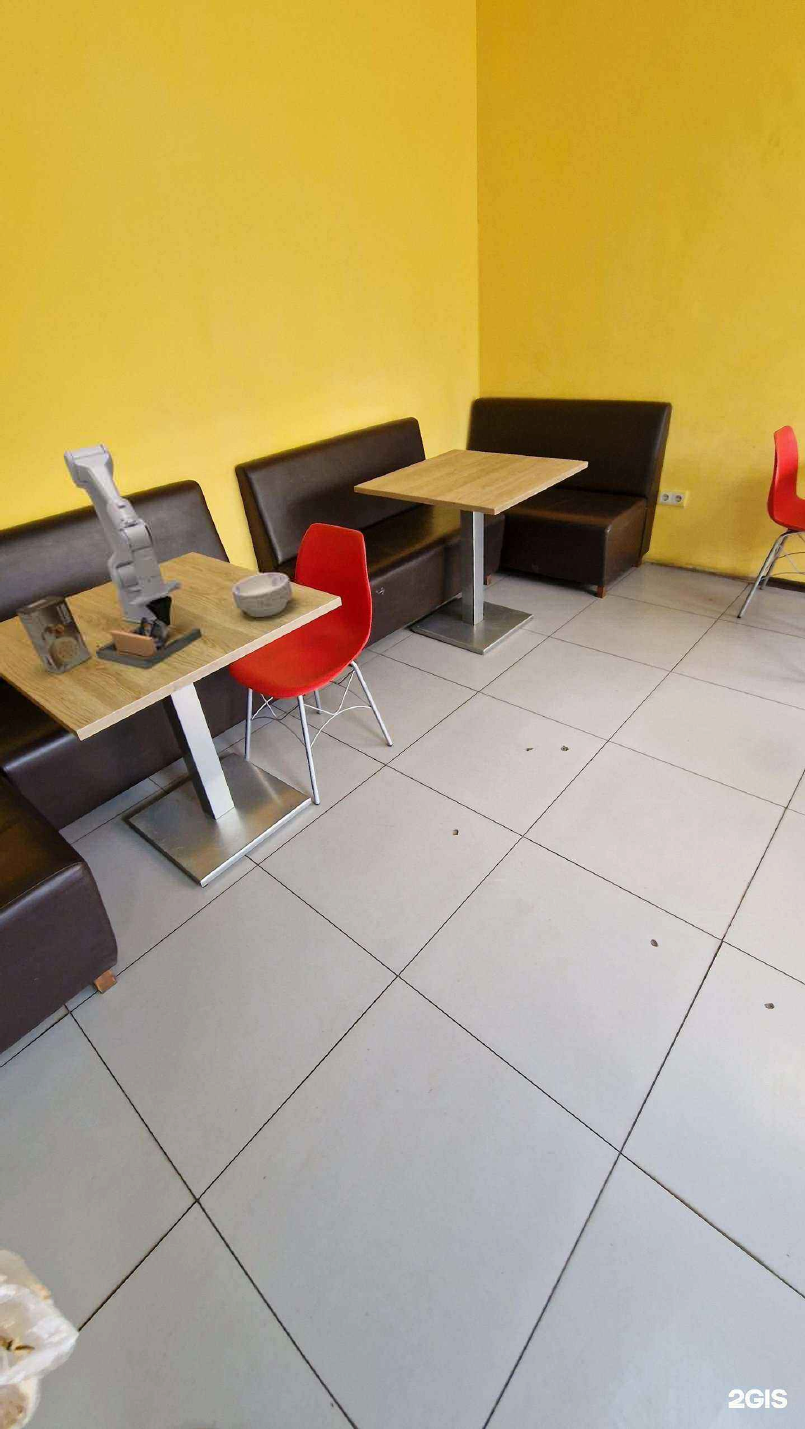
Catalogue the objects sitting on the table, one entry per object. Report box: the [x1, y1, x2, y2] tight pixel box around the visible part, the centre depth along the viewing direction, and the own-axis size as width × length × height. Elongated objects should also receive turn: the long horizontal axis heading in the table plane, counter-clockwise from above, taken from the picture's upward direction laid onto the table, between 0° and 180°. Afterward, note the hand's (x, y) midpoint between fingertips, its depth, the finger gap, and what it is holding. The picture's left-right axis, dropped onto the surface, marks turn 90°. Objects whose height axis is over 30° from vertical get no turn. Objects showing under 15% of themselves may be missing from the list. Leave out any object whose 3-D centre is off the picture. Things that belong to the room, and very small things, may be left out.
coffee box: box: [15, 595, 92, 675], centre depth 150 cm, size 9×6×16 cm
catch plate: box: [109, 629, 158, 658], centre depth 153 cm, size 14×1×5 cm, turn 61°
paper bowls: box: [231, 572, 293, 618], centre depth 167 cm, size 15×15×8 cm
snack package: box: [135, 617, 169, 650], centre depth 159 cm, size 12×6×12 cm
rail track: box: [95, 620, 203, 670], centre depth 157 cm, size 18×18×2 cm
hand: (166, 625), depth 161 cm, fingers closed
